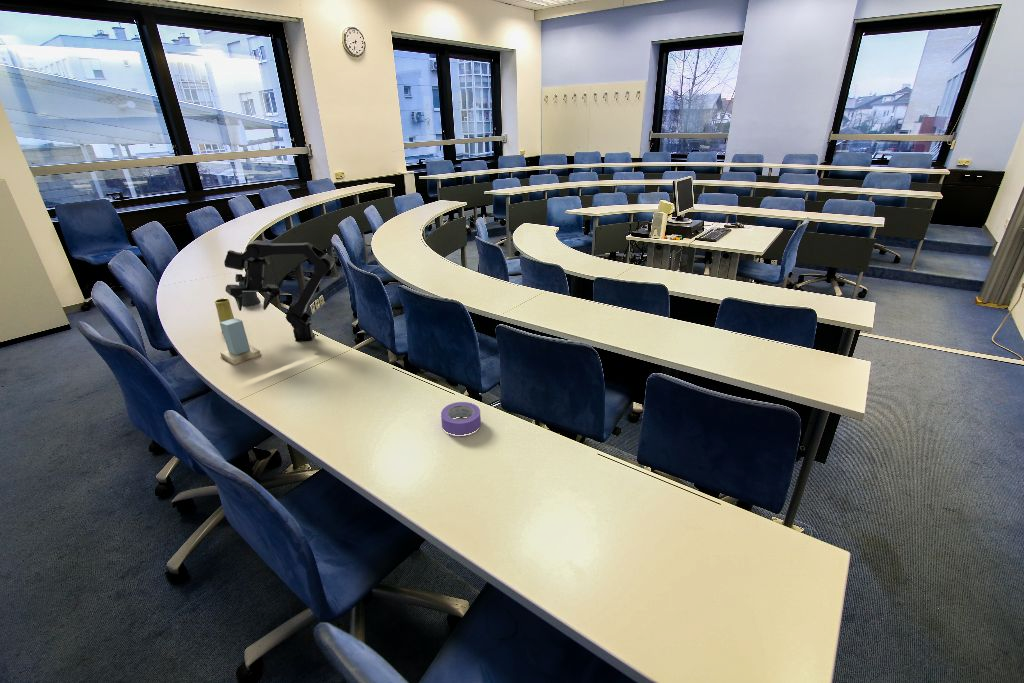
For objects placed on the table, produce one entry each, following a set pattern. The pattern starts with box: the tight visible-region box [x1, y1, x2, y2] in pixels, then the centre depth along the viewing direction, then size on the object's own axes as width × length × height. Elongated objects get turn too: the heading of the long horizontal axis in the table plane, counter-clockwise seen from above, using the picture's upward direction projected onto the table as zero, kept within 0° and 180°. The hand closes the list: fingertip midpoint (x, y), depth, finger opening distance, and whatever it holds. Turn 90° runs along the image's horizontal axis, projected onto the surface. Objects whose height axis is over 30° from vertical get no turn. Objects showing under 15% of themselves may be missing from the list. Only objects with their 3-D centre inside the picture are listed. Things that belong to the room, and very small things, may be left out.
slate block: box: [219, 317, 250, 355], centre depth 176 cm, size 6×6×12 cm
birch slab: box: [219, 344, 261, 365], centre depth 179 cm, size 10×10×2 cm
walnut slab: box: [219, 353, 263, 367], centre depth 180 cm, size 11×11×2 cm
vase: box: [214, 297, 235, 334], centre depth 200 cm, size 6×6×14 cm
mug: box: [237, 282, 261, 307], centre depth 234 cm, size 12×9×11 cm
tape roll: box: [440, 401, 482, 435], centre depth 141 cm, size 12×12×5 cm
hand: (252, 310), depth 189 cm, fingers open, 9 cm apart
